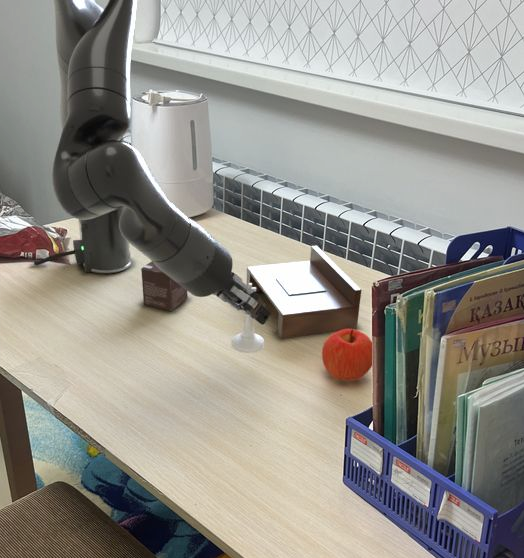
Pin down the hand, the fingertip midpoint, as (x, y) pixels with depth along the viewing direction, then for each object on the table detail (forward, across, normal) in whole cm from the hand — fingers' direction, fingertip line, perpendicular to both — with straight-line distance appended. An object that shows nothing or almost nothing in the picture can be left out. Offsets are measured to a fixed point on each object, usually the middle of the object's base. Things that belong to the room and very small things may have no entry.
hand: (260, 314), depth 102 cm
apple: (+15, -8, -1) cm, 17 cm away
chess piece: (+2, 0, +5) cm, 5 cm away
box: (+8, +28, +7) cm, 30 cm away
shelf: (+21, +13, -7) cm, 26 cm away
